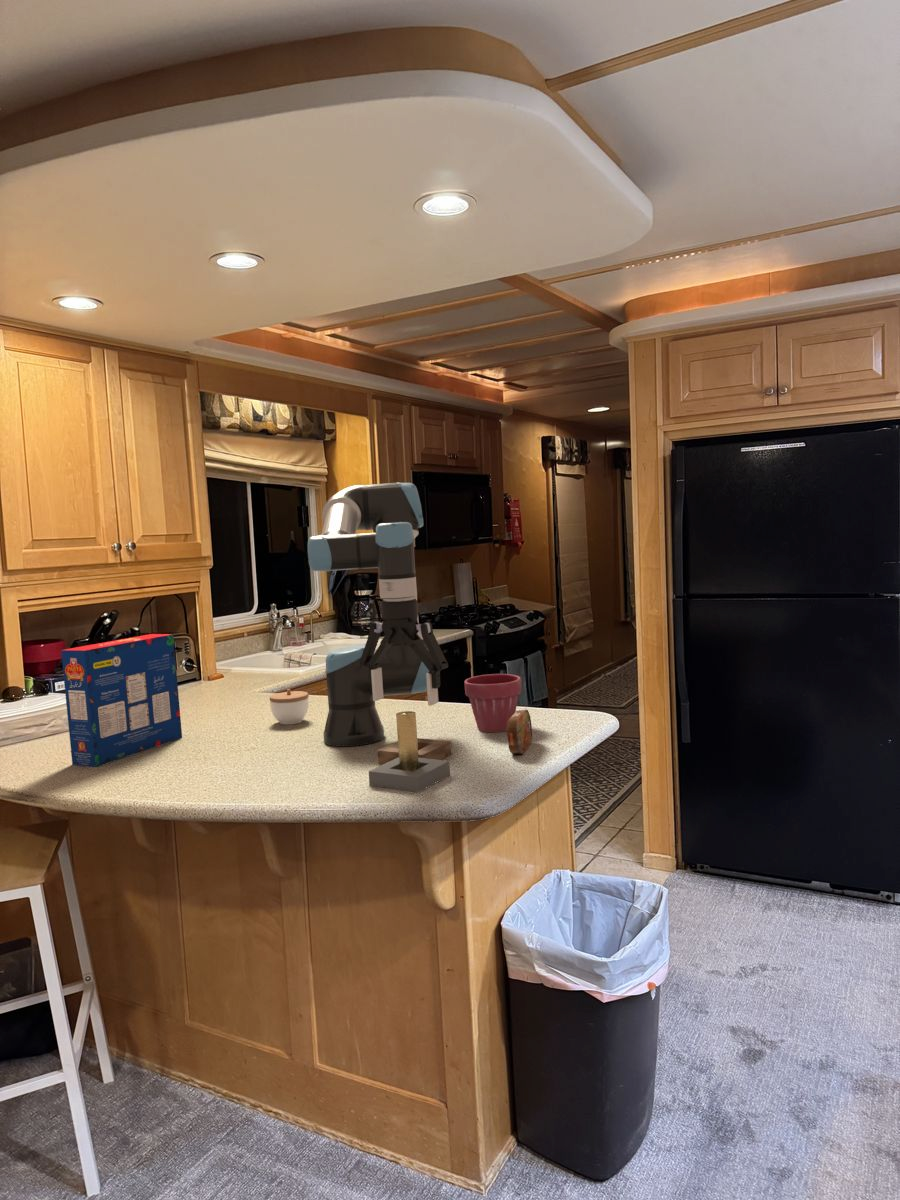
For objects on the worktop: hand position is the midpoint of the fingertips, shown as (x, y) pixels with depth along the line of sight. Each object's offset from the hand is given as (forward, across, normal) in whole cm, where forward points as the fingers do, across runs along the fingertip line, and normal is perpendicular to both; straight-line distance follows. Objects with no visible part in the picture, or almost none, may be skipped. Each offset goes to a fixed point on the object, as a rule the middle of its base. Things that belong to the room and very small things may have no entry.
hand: (405, 701), depth 170 cm
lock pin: (+16, 0, -1) cm, 16 cm away
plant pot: (+17, -4, +44) cm, 48 cm away
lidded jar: (+18, -62, +33) cm, 73 cm away
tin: (+17, +12, +28) cm, 35 cm away
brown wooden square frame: (+17, -8, +13) cm, 23 cm away
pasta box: (+18, -82, -5) cm, 84 cm away
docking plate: (+16, 0, -1) cm, 16 cm away
